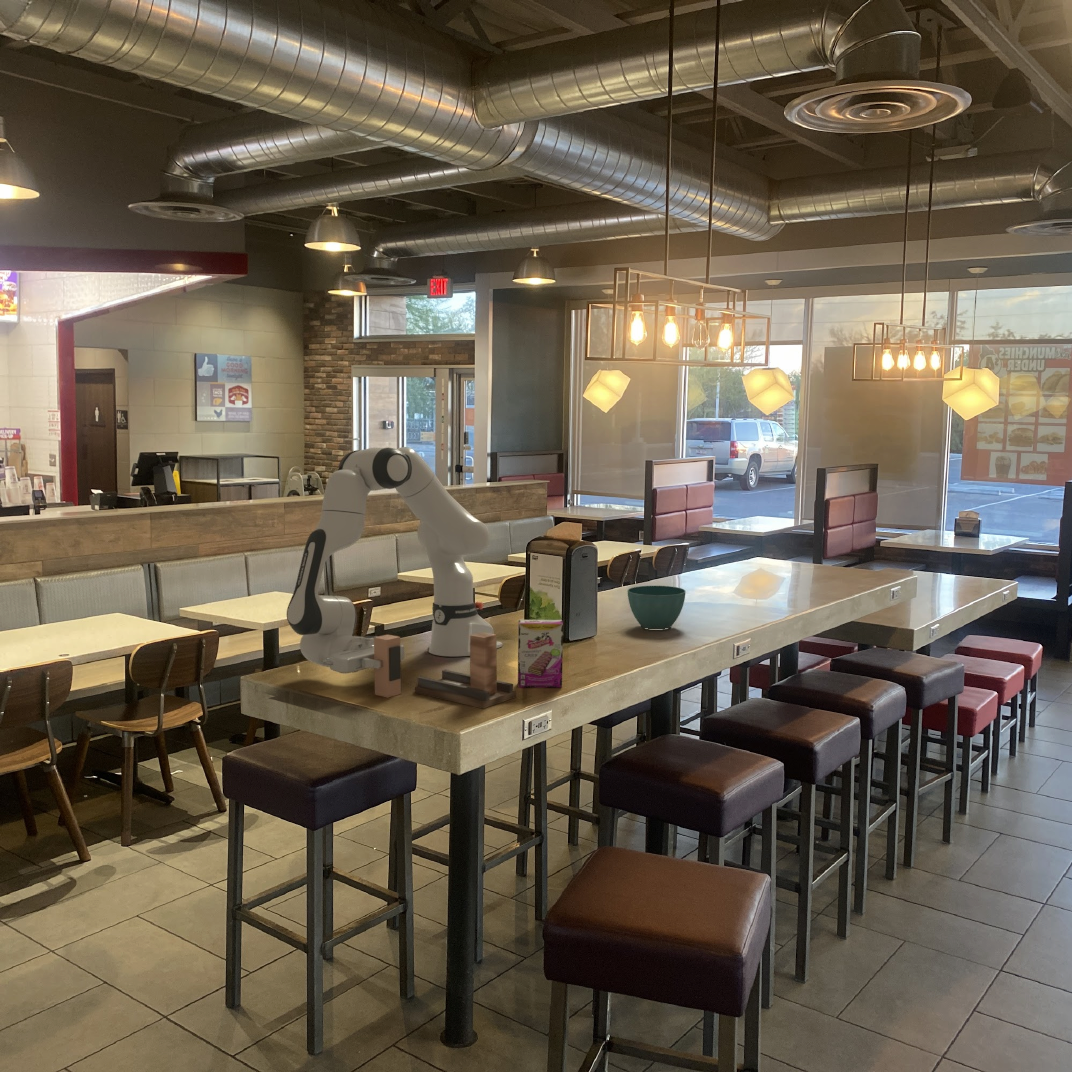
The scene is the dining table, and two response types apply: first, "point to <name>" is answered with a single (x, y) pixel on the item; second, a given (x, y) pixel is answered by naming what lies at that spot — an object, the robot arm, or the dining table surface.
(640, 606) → the dark green round bowl
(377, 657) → the tall tan pillar
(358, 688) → the dining table surface
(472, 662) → the wooden stand
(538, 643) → the candy bar box
